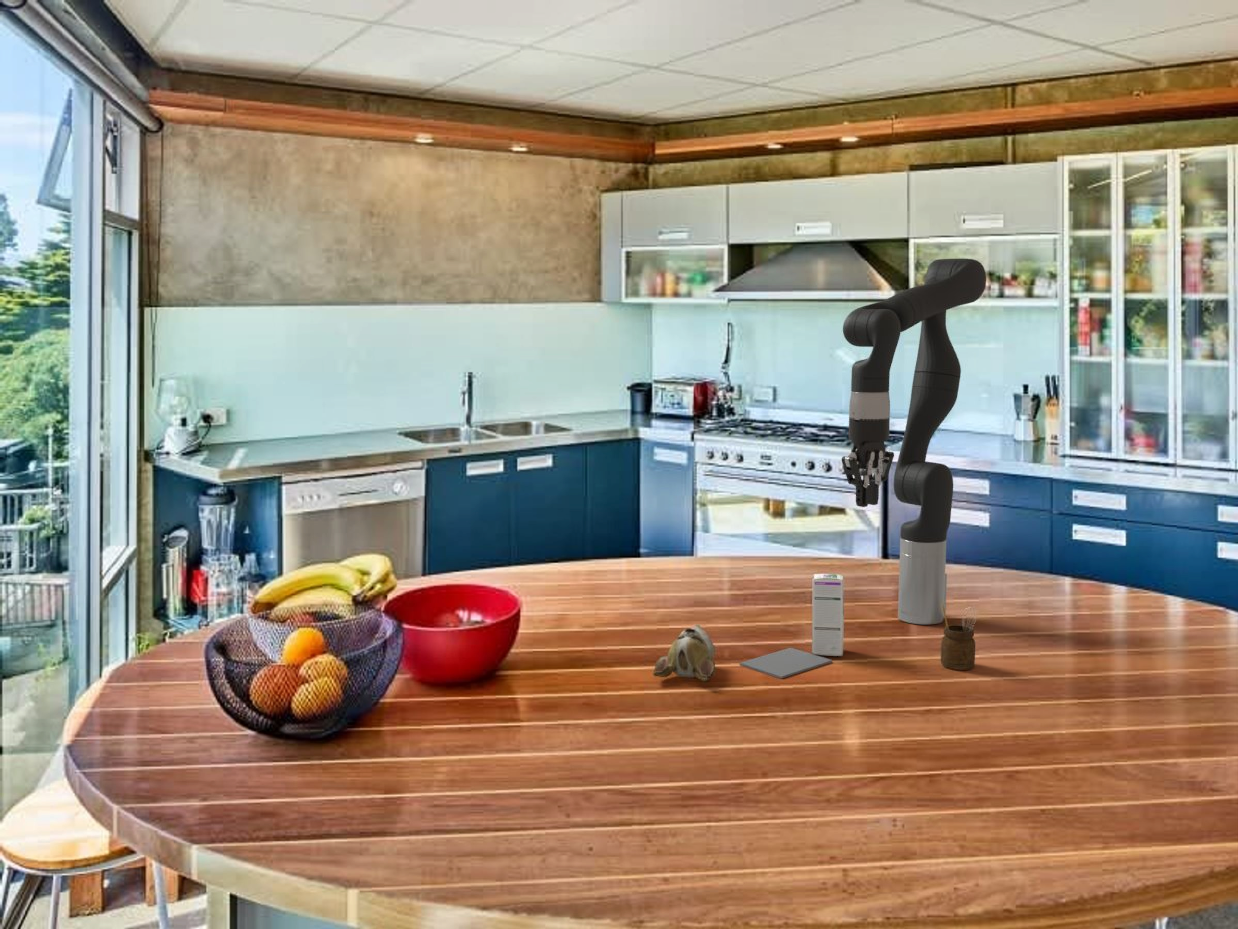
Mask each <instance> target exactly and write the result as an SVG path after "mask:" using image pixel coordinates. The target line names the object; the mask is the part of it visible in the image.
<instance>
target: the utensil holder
mask: <svg viewBox="0 0 1238 929" xmlns="http://www.w3.org/2000/svg"><path fill="white" fill-rule="evenodd" d="M941 604H942V609H943V614H944V618H943V619H944V620H945V626H944V629H943V635H944V636H942V638H941V643H940V664H941V666H943V667H944V668H946V669H949V670H953V671H968V670H971V669H973V668H974V667H975V662H976V661H975V660H976V641H975V639H974V636H975V631H974V628H973V627H974V626H972V627H971V626H969V625H965V619H966V618H967V619H969V617H970V616H972V615H974V616H973V617H970V619H969V620H971V619H972V618H973V619H972V621H969V620H967V623H968V624H970V622H971V623H976V621H977V620H976V619H977V618H978V616H977V615H976V614H977V613H978V612H977V610H976V609H975V608H974V607H972V606H971V607H969V606H968V608H965V610H964V611H963V615H962V616H963V617H962V619H961V620H962V624H948V619H947V616H946V615H947V614H945V610H944V606H943V603H942V600H941ZM969 610H970V611H972V610H974V614H973V613H971V612H969ZM968 612H969V613H968ZM967 614H968V615H970V616H968V617H966V616H967ZM965 615H966V616H965ZM968 621H969V622H968Z"/></svg>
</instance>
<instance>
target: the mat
mask: <svg viewBox="0 0 1238 929" xmlns="http://www.w3.org/2000/svg"><path fill="white" fill-rule="evenodd" d="M831 663H833V660H832V659H830V658H826V657H824V656H821V655H817V654H812V653H810V652H807V651H804V650H800V649H796V648H793V647H788V648H786V649H785V648H784V649H780V650H779V651H775V652H772V653H771V652H770V653H768V654H765V655H761V656H758V657H754V658H752V659H748V660H744V661H741V662H739V665H740V666H742V667H745V668H748V669H750V670H754V671H756V672H759V673H762V674H765V675H769V676H772V677H773V678H778V679H784V678H787V677H792V676H794V675H797V674H800V673H803V672H806V671H807V672H808V671H810V670H812V669H815V668H818V667H822V666H825V665H828V664H831Z"/></svg>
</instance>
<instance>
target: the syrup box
mask: <svg viewBox="0 0 1238 929" xmlns="http://www.w3.org/2000/svg"><path fill="white" fill-rule="evenodd" d="M844 591H845V590H844V575H842V574H837V573H814V574H813V577H812V602H811V603H812V604H811V606H812V610H811V612H812V614H811V615H812V617H811V618H812V619H811V621H812V622H811V630H812V631H811V632H812V633H811V634H812V637H811V647H812V648H811V654H813V655H817V656H830V657H831V656H833V657H837V656H838V657H843V655H844V654H843V653H844V631H845V630H844V629H845V628H844V625H845V624H844V622H845V620H844V619H845V618H844V617H845V605H844V604H845V602H844V601H845V598H844V595H845V594H844Z"/></svg>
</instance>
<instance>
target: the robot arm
mask: <svg viewBox="0 0 1238 929" xmlns="http://www.w3.org/2000/svg"><path fill="white" fill-rule="evenodd" d="M986 284H987V275H986V270H985V268H984V265H983V264H982V263H981V262H980V261H979V260H977V259H973V258H940V259H935V260H933V261H932V262H930V264H929V265H928V267H927V270H926V273H925V278H924V284H922V285H917V286H913V287H910V288H907V289H904V290H901V291H899V292H897V293H896V294H894V295H892V296H891V297H888V298H887V299H884V300H883V301H879V302H878V301H877V302H874V303H870V304H867V305H864V306H861V307H858V308H856V309H854V310H852V311H851V312H849V314H848V315H847V316H846V318H845V320H844V322H843V323H842V324H843V326H842V333H843V337H844V339H845V340H846V341H847V343H848V344H850V345H852V346H853V347H859V348H861V347H863V348H865V347H866V348H872V350H871V353H870V355H869V357H867V358H865V359H860V360H857V361H855V362H854V363H852V366H851V381H850V382H851V385H850V390H851V392H850V398H849V406H848V407H849V411H848V412H849V414H848V439H849V440H850V441H851V442H852V447H851V449H850V450H851V451H850V454H848V456H845V455H843V456H842V457H841V463H842V468H843V469H844V474H845V477H846V480H847V483H848V484H849V485H853V486H854V487H855V503H856V504H855V505H856V506H857V507H862V508H865V507H868V505H869V506H870V505H872V506H877V505H878V504H879V499H880V498H879V493H880V492H879V491H880V486H881V484H882V483H883V482H886V481H887V479H888V477H889V473H890V469H891V467H892V464H893V460H894V457H895V453H894V452H893V451H888V450H886V446H885V442H887V441H889V439H890V426H891V425H890V421H891V420H890V418H891V416H890V414H891V400H890V398H891V397H890V373H891V368H892V364H893V360H894V357H895V354H896V353H895V352H896V350H897V348H898V344H899V340H900V337H901V333H903V332H906V331H907V330H909V329H911V328H912V327H914V326H916V325H917V324H919V323H921V325H920V334H919V341H918V342H919V343H918V350H917V356H916V361H915V367H914V372H913V379H912V385H911V390H910V391H911V393H910V401H909V402H910V403H909V408H908V413H907V419H906V425H905V430H904V434H903V438H902V442H901V447H900V451H899V453H898V459H897V462H896V467H895V469H894V475H893V476H894V477H893V493H894V496H895V497H896V499H897V500H898V501H899V502H901V503H903V504H908V505H914V506H919V507H920V513H919V516H918V517H917V518H916V519H914V520H910V521H909V520H908V521H906V522H903V523H902V524H901V525H900V532H899V533H900V536H899V537H900V538H899V540H900V541H899V568H898V569H899V570H898V572H899V574H898V596H897V597H898V600H897V601H898V602H897V618H898V619H899V620H900V621H902V622H905V623H908V624H914V625H915V624H916V625H936V624H941V623H942V622H944V619H945V618H944V614H943V609H942V604H941V600H942V603H943V606H944V610H945V614H946V611H947V608H946V607H947V606H946V605H947V586H948V585H947V583H948V582H947V581H948V575H947V573H946V561H947V558H946V557H947V534H948V531H949V527H950V524H951V516H952V505H953V496H954V478H953V473H952V471H951V469H950V468H949V467H948V466H947V465H946V464H943V463H939V462H932V461H926V460H927V454H928V449H929V445H930V442H931V440H932V438H933V436H934V435H935V432H936V431H937V429H938V428H939V426H940V425H941V424H943V421H944V420H945V419H946V418H947V416H948V415H949V414H950V412H951V411H952V410H953V408H954V406H955V405H956V402H957V400H958V396H959V395H958V393H959V388H960V381H961V373H962V367H961V363H960V360H959V358H958V355H957V352H956V350H955V348H954V346H953V343H952V342H951V339H950V336H949V333H948V331H947V330H948V329H947V311H949V310H950V309H953V308H956V307H959V306H960V307H961V306H964V305H967V304H971V303H974V302H976V301H977V300H979V299H980V298H981V297H982V295H983V294H984V291H985V289H986ZM946 615H947V614H946Z"/></svg>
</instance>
